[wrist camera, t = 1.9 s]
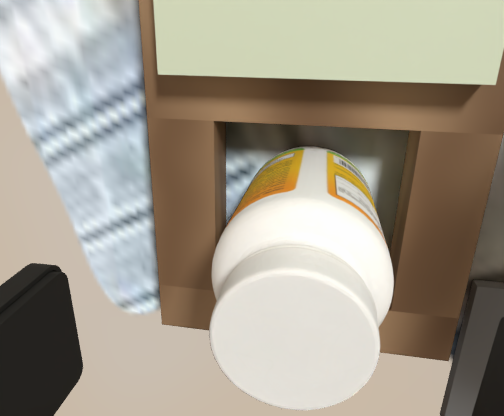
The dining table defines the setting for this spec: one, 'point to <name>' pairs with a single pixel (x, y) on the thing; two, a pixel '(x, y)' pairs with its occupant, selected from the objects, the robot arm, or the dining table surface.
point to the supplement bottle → (301, 283)
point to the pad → (473, 347)
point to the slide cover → (332, 39)
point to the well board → (334, 115)
